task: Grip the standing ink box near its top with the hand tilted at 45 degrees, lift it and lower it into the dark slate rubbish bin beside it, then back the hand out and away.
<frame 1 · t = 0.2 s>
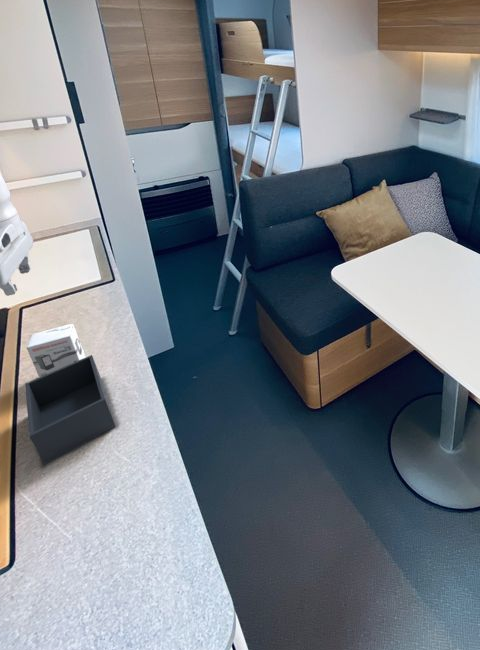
hand: (19, 282, 96), 23 cm above the worktop, tool pointing down, fingers open, 8 cm apart
ink box: (66, 373, 100), on the worktop
bin: (76, 418, 88), on the worktop
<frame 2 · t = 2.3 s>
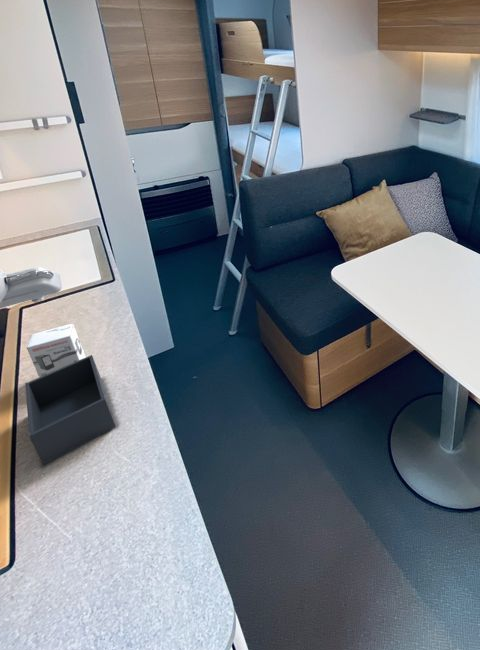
hand: (10, 305, 81), 27 cm above the worktop, tool tilted 40°, fingers open, 8 cm apart
nothing on the worktop moved.
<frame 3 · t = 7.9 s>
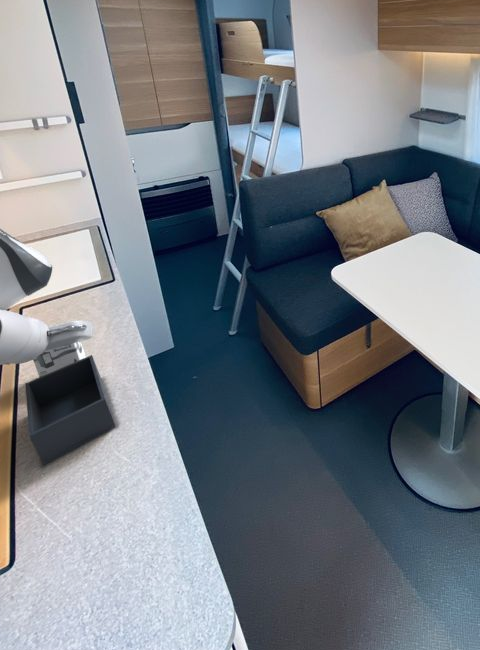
hand: (50, 345, 94), 10 cm above the worktop, tool tilted 45°, fingers closed on ink box, 8 cm apart
ink box: (66, 372, 100), on the worktop, touching gripper
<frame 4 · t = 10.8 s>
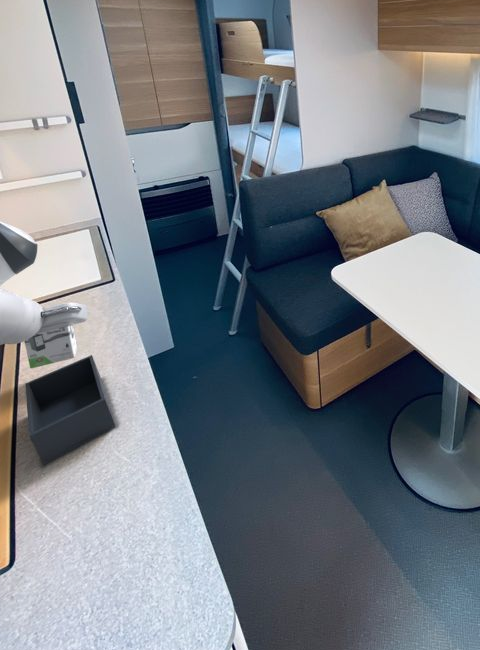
hand: (44, 328, 93), 14 cm above the worktop, tool tilted 45°, fingers closed on ink box, 8 cm apart
ink box: (54, 358, 98), point 5 cm above the worktop, touching gripper
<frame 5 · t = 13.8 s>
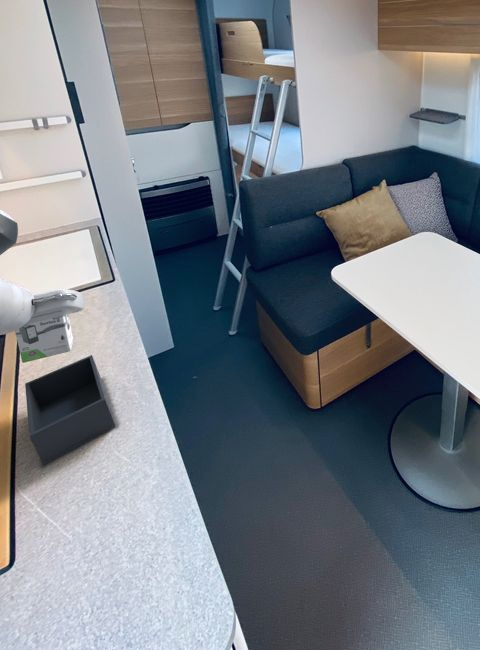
hand: (37, 319, 86), 21 cm above the worktop, tool tilted 45°, fingers closed on ink box, 8 cm apart
ink box: (49, 352, 90), point 12 cm above the worktop, touching gripper
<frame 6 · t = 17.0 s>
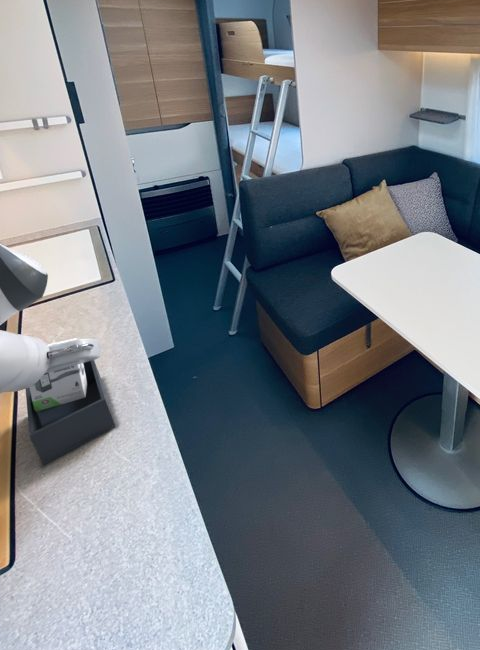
hand: (50, 366, 81), 16 cm above the worktop, tool tilted 45°, fingers closed on ink box, 8 cm apart
ink box: (62, 398, 86), point 6 cm above the worktop, touching gripper
when the fingers open (12 cm above the worktop, at t = 19.7 s): ink box stays where it is, resting on bin.
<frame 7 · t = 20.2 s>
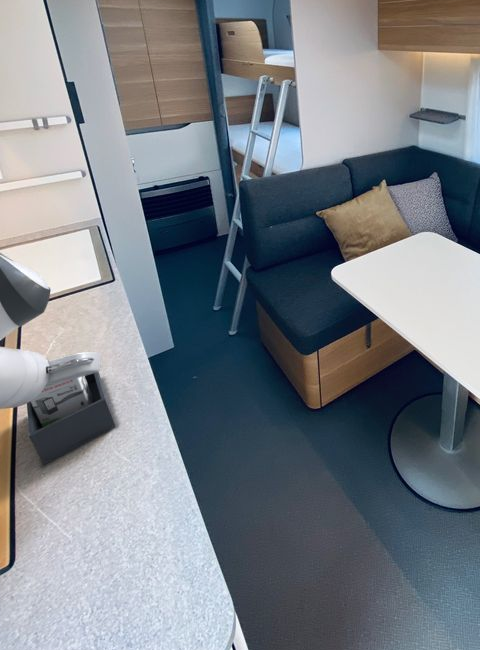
hand: (49, 379, 80), 14 cm above the worktop, tool tilted 45°, fingers open, 8 cm apart
ink box: (70, 415, 88), point 1 cm above the worktop, touching bin
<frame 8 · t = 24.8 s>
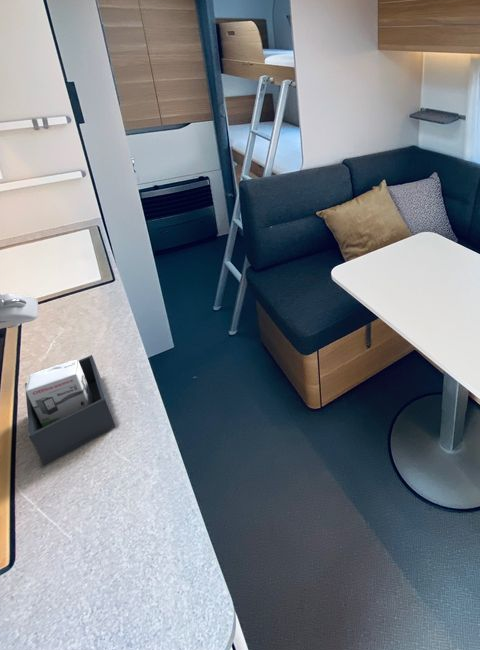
nothing on the worktop moved.
at the end: ink box inside the target area in the bin (0.9 cm from its centre), point 0.8 cm above the bin's base; the gripper is holding nothing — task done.
